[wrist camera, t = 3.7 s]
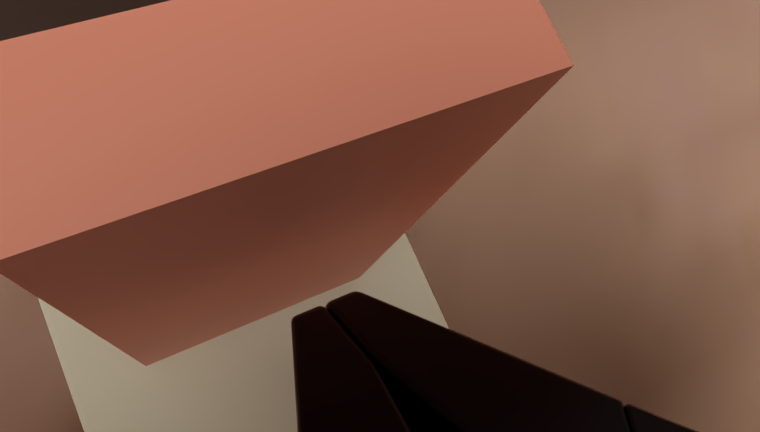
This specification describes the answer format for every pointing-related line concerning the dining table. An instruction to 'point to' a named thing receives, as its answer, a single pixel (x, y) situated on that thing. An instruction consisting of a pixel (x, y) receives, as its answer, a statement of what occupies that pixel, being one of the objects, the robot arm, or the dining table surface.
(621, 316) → the dining table surface
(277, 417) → the strip
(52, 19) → the domino
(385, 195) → the domino
